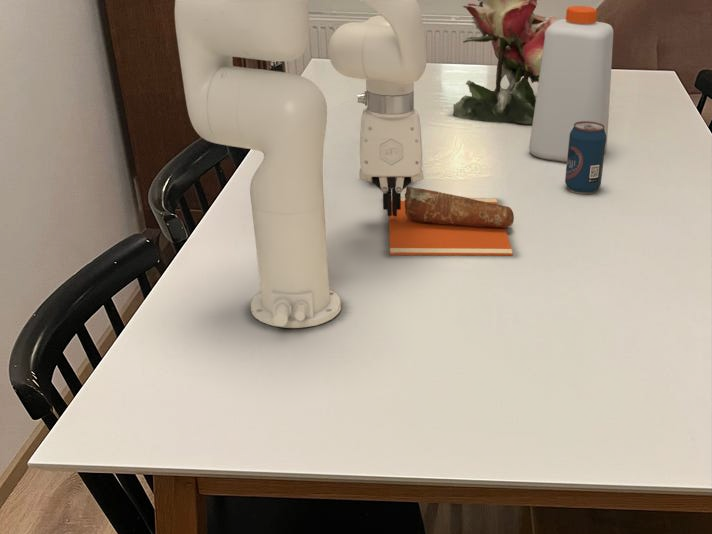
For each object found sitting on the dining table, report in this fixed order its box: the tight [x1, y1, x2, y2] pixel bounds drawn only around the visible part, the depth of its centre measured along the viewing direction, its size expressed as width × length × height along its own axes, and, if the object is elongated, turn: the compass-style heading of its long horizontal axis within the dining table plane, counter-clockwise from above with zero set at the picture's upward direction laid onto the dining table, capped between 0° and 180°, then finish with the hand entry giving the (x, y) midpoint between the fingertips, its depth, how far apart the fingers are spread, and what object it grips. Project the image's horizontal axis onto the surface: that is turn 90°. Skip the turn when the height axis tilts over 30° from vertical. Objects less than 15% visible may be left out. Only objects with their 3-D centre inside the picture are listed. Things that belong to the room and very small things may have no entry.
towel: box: [388, 196, 514, 257], centre depth 161 cm, size 26×20×1 cm
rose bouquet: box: [452, 0, 562, 125], centre depth 216 cm, size 26×29×30 cm
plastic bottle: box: [528, 5, 614, 163], centre depth 190 cm, size 15×15×28 cm
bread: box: [404, 186, 515, 229], centre depth 159 cm, size 6×19×6 cm, turn 81°
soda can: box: [564, 121, 608, 195], centre depth 176 cm, size 7×7×12 cm
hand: (392, 213), depth 159 cm, fingers closed
